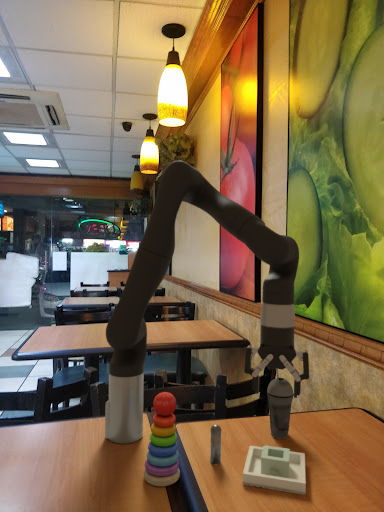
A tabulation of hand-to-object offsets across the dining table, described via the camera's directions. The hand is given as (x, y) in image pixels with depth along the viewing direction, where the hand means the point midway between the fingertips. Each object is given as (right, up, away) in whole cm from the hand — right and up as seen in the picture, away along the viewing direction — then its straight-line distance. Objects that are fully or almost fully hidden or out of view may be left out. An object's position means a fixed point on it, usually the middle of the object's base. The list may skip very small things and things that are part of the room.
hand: (275, 394), depth 90 cm
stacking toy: (-26, -18, -2) cm, 31 cm away
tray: (0, -18, 0) cm, 18 cm away
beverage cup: (+5, -18, +19) cm, 27 cm away
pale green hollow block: (0, -17, 0) cm, 17 cm away
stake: (-13, -18, +5) cm, 23 cm away
